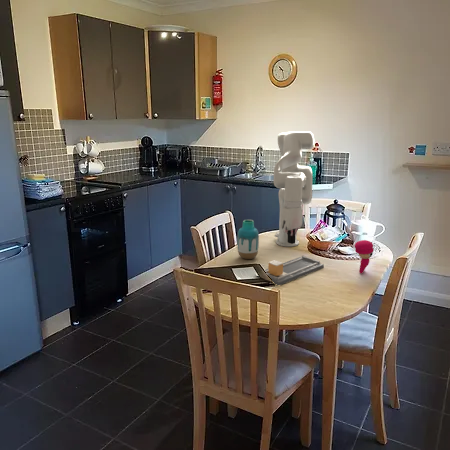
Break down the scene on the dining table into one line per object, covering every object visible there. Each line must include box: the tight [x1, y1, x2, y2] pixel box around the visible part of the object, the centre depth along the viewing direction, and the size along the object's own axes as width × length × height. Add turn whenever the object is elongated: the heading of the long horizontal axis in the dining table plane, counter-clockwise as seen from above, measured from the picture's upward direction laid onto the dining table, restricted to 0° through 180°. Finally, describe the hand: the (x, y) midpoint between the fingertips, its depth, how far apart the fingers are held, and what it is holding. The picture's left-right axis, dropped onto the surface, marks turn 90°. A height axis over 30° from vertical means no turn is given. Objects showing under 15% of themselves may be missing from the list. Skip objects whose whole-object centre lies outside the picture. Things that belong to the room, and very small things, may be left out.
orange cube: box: [267, 259, 284, 276], centre depth 189 cm, size 4×5×5 cm
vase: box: [236, 219, 260, 260], centre depth 212 cm, size 11×11×19 cm
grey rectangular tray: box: [263, 255, 325, 286], centre depth 197 cm, size 31×14×3 cm, turn 131°
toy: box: [354, 239, 374, 274], centre depth 194 cm, size 8×8×15 cm
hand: (291, 242), depth 194 cm, fingers closed
